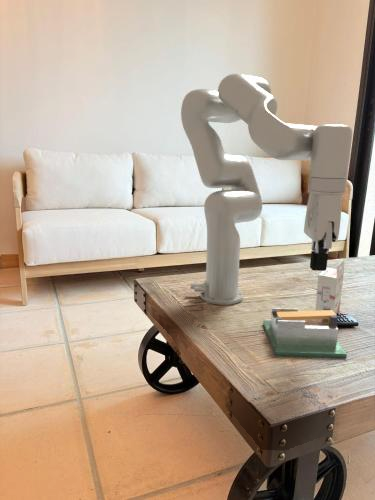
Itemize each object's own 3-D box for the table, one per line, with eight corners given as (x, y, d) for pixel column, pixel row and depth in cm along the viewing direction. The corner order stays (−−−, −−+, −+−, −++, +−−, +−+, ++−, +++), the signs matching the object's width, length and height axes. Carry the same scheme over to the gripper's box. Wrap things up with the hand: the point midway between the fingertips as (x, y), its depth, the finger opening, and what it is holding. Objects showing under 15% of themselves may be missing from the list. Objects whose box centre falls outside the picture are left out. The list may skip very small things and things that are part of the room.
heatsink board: (275, 356, 84) (277, 325, 82) (263, 324, 99) (264, 298, 97) (346, 358, 83) (350, 327, 82) (323, 325, 99) (325, 299, 97)
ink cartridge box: (321, 306, 111) (326, 256, 108) (339, 310, 109) (345, 259, 105) (313, 316, 104) (318, 263, 101) (333, 321, 102) (339, 266, 98)
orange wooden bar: (279, 320, 89) (279, 317, 88) (276, 315, 92) (276, 312, 91) (336, 318, 88) (336, 315, 88) (332, 313, 91) (332, 310, 91)
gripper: (300, 182, 90) (293, 259, 95) (319, 189, 76) (310, 280, 80) (333, 183, 90) (324, 260, 94) (358, 190, 75) (347, 281, 80)
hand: (317, 269), depth 87 cm, fingers closed
